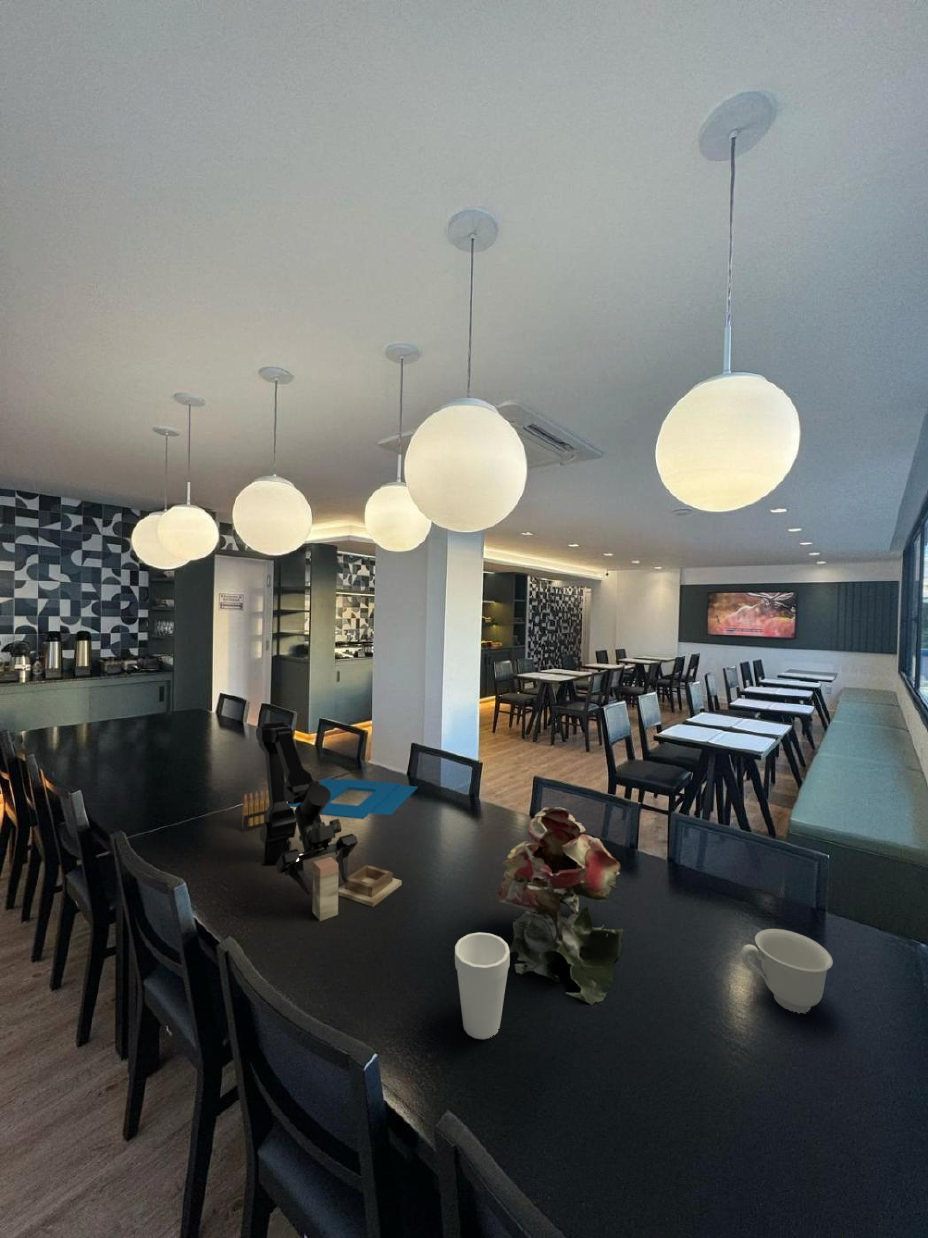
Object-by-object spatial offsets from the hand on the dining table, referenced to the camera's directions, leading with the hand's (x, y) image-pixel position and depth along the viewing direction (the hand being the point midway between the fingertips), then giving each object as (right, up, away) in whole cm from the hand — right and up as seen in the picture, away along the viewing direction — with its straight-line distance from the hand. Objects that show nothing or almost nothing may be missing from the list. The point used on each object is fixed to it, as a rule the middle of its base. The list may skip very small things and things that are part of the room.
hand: (327, 888), depth 120 cm
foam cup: (+35, -7, -32) cm, 48 cm away
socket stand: (+7, -7, +12) cm, 16 cm away
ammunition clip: (-37, -6, +51) cm, 63 cm away
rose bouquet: (+52, -7, -10) cm, 53 cm away
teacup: (+91, -8, -25) cm, 95 cm away
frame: (-12, -7, +79) cm, 80 cm away
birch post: (-1, -7, +1) cm, 7 cm away
